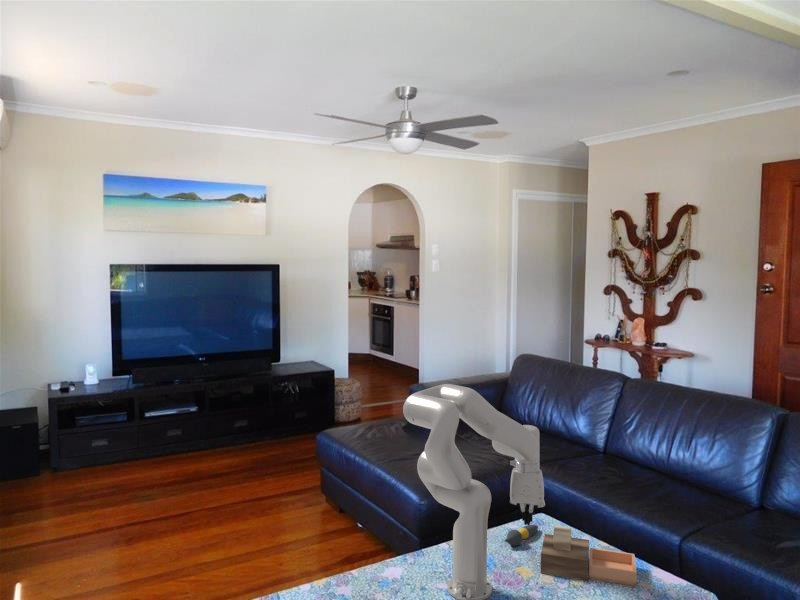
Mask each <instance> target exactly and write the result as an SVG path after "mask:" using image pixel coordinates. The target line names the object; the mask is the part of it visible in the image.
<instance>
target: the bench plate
mask: <svg viewBox="0 0 800 600" xmlns="http://www.w3.org/2000/svg"><path fill="white" fill-rule="evenodd" d="M589 556H590V539H586V538H579V537H578V538H577V537H572V536H571V550H570V551H567V550H560V549H553V534H550V533H544V537H543V542H542V546H541V552H540V574H545V575H549V576H557V577H563V578H570V579H577V580H583V581H589Z"/></svg>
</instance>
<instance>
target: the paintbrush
mask: <svg viewBox="0 0 800 600" xmlns="http://www.w3.org/2000/svg"><path fill="white" fill-rule="evenodd" d="M538 529H539V527H538V525H537V524H530V525H524V526H522V527H521V528H519V530H516V529H511V530H509V531H508V532H507V534H506V535H507V536H506V538H505V539H504V542H505V543H507V544H509V545H510V546H512V547H518V546H520V545H521V544H522V543H523V542H522V541H523V540H526V539H528V538H531V537H532V536H534V535H535V534H536V532H538Z"/></svg>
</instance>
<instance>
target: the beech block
mask: <svg viewBox="0 0 800 600" xmlns="http://www.w3.org/2000/svg"><path fill="white" fill-rule="evenodd" d="M552 535H553V549H560V550H567V551H570V550H571V537H572V527H568V526H558V525H554V527H553V533H552Z"/></svg>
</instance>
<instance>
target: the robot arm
mask: <svg viewBox="0 0 800 600" xmlns="http://www.w3.org/2000/svg"><path fill="white" fill-rule="evenodd" d="M402 409H403V410H402V412H403V416H404V418H405V420H407V422H409V423H410V424H412V425H414V426H418V427H422V428H425V429H429V430H430V432H429V436H428V437H427V438H428V439H427V440H426V442H425V444H424V450H423V451H422V452H421V453H420V455H419V457H418V459H417V464H416V468H417V469H416V470H417V474H418V477H419V479H420V480H421V482H422V483H423V485H424V487H426V489H427V490H428V491H429V493H430V494H431V495H432V497H433V498H434V500H436V502H438V504H441V505H442V506H445V507H448V508H449V509H453V510H454V511H456V512H458V513H459V515H458V518H457V519H456V520H455V522H454V523H453V528H452V529H453V530H452V578H450V579H449V580H448V582H447V585H446V586H447V592H448V593H449V595H451V596H452V597H453V598H454V599H456V600H486V599H489V598H490V596H491V595H492V593H493V586H492V584H491V582H490V581H489V580H488V579H487V577H488V575H487V574H488V573H487V572H488V570H487V568H488V519H489V515H490V514H489V513H490V509H491V503H492V494H491V491H490V489H489V487H487V485H485V484H484V482H483V483H482V482H481V481H479V480H476V479H473V478H472V471H471V468H470V466H469V464H468V462H467V461H466V459H465V457H464V456H463V454H462V453H461V452H460V449H458V447H457V445H456V440H455V438H456V434H457V430H458V427H459V422H460V419H461V420H462V421H463V422H464V423H465V424H467V425H468V426H469V427H470V428H471V429H473V430H474V431H475V432H476V433H477V434H479V435H480V436H482V437H485V438H486V439H488V440H491V445H492V448H493V450H495V452H497V453H499V454H501V455H504V456H508V457H512V458H514V459H513V460H510V461H509V465H510V466H512V467H513V468H512V470H511V476H510V484H509V485H510V487H509V489H510V490H509V497H510V499H509V503H510V504H511V505H514V506H517V507H518V508H519V509H520V511H521V514H522V516H521V519H522V522H523V523H524V526H528V525H531V523H533V512H534V511H536V509H538V508H544V507H545V506H546V502H545V499H544V498H545V485H544V477H543V471H542V469H540V457H541V455H540V447H541V446H540V444H541V443H540V429H539V428H538V427H537V426H534V425H532V424H531V425H530V424H523V425H522V424H521V423H519V422H518V421H516V420H514V419H512V418H511V417H509V416H508V415H506V414H504V413H502V412H500V411H498V409H496V408H495V407H494V406H493V405H491V403H489V401H488V400H486V399H485V398H484V397H483V396H482V395H481V394H480V393H479V392H477V390H475V389H473V388H471V387H467V386H462V385H456V384H452V383H443V384H439V385H436V386H432V387H428V388H426V389H423V390H419V391H416V392H414V393H412V394H410V395H409V396H408V397H407V398H406V400H405V401H404V403H403V406H402ZM527 505H529V506H528V508H527Z"/></svg>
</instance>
